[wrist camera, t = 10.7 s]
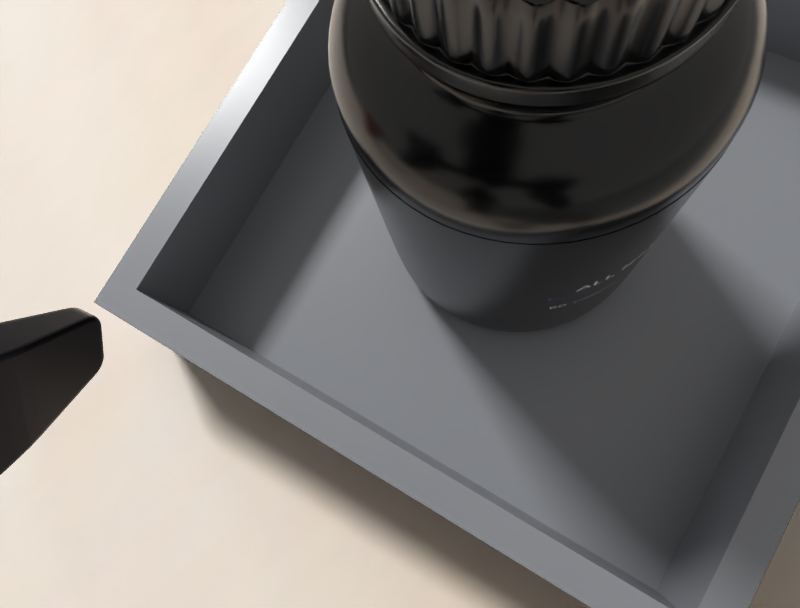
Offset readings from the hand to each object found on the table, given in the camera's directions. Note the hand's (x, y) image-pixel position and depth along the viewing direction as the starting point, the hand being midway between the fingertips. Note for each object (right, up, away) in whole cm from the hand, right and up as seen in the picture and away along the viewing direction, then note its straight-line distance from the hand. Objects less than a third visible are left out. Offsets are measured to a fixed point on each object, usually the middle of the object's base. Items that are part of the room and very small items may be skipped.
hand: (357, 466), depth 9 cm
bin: (+4, +5, +10) cm, 12 cm away
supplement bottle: (+4, +5, +9) cm, 11 cm away
